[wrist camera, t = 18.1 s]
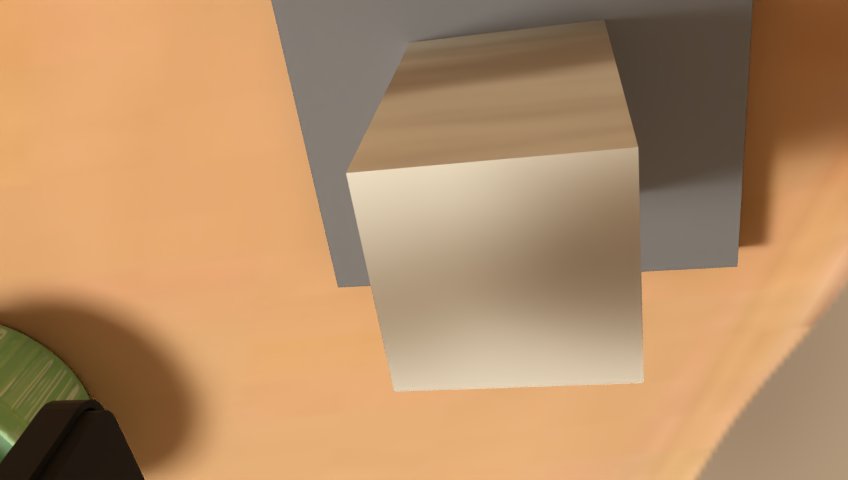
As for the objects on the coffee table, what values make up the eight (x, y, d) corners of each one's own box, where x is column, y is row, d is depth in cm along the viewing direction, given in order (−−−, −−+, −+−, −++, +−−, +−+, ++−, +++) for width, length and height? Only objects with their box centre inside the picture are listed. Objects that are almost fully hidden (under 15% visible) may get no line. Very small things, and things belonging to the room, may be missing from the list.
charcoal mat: (273, -47, 21) (261, -40, 20) (749, -110, 19) (759, -105, 18) (344, 270, 26) (338, 287, 25) (730, 248, 24) (737, 266, 23)
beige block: (409, 42, 21) (345, 173, 14) (603, 19, 20) (638, 147, 13) (436, 209, 23) (393, 391, 16) (611, 196, 22) (643, 382, 15)
